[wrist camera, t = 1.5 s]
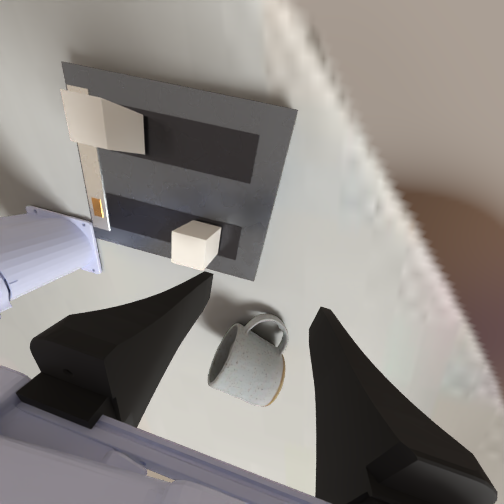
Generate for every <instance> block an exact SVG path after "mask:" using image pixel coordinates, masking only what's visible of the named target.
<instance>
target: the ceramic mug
mask: <svg viewBox="0 0 504 504" xmlns="http://www.w3.org/2000/svg"><path fill="white" fill-rule="evenodd" d="M264 321H274V322H275V323H276V324H277V325H278V326H279V328H280V329H281V330H282V331H283V337H282V340H281V342H280V344H279V346H278V347H275V346H274V345H273V344H271V343H269V342H268V341H266V340H264V339H263V338H261V337H259V336H258V335H257V334H255V333H254V332H252V331H251V330H250V329H252V328H253V327H254V326H255V325H257V324H258V323H261V322H264ZM288 339H289V337H288V331H287V329H286V327H285V325H284V323H283V322H282V321H281V320H280V319H279V318H278V317H276V316H275V315H272V314H268V313H266V314H260V315H257V316H256V317H254V318H253V319H252V320H250V321H249V322H248V323H247V324H246V326H243V325H241V324H239V323H236V324H234V325H233V326H232V327H231V328H230V329H229V330H228V332H227V333H226V334H225V336H224V338H223V339H222V341H221V343H220V345H219V347H218V349H217V351H216V353H215V356H214V358H213V361H212V364H211V367H210V370H209V374H208V385H209V386H210V387H212V388H214V389H217V390H220V391H222V392H225V393H227V394H229V395H231V396H234V397H236V398H239V399H241V400H243V401H245V402H247V403H250V404H252V405H255V406H261V407H264V406H268V405H270V404H271V403H272V402H273V401H274V400H275V399H276V398H277V396H278V394H279V392H280V390H281V388H282V385H283V382H284V377H285V361H284V357H283V355H282V353H283V352H284V351H285V349H286V347H287V344H288Z"/></svg>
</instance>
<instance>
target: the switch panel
mask: <svg viewBox="0 0 504 504" xmlns="http://www.w3.org/2000/svg"><path fill="white" fill-rule="evenodd" d="M61 62H62V61H61ZM62 67H63V72H64V78H65V83H66V88H67V90H68V91H72V92H77V93H81V94H86V95H91V96H95V97H100V98H103V99H105V100H108V101H110V102H113V103H115V104H118V105H120V106H123V107H125V108H128V109H130V110H133V111H135V112H137V113H140V114H142V115H143V123H144V144H145V154H138V153H130V152H122V151H114V150H107V149H103V148H99V147H94V146H90V145H86V144H82V143H78V142H77V146H78V151H79V156H80V162H81V167H82V172H83V178H84V183H85V188H86V193H87V199H88V204H89V209H90V214H91V220H92V225H93V230H94V235H95V238H98V239H102V240H105V241H109V242H113V243H116V244H120V245H124V246H127V247H131V248H134V249H138V250H142V251H145V252H149V253H153V254H156V255H160V256H163V257H167V258H171V253H172V231H173V230H175V229H177V228H179V227H181V226H183V225H185V224H187V223H188V222H190V221H192V220H195V221H199V222H203V223H206V224H210V225H214V226H218V227H221V234H220V241H219V248H218V254H217V255H216V256H215V257H214V259H213V260H212V261H211V262H210V263H209V265H208V266H207V267H206V268H207V269H211V270H214V271H218V272H221V273H225V274H229V275H232V276H236V277H240V278H243V279H247V280H250V281H254V279H255V276H256V272H257V269H258V265H259V261H260V257H261V253H262V249H263V245H264V241H265V237H266V234H267V230H268V226H269V222H270V218H271V214H272V210H273V206H274V202H275V198H276V195H277V191H278V187H279V183H280V179H281V175H282V171H283V167H284V163H285V160H286V156H287V152H288V148H289V144H290V140H291V136H292V132H293V128H294V125H295V121H296V117H297V111H298V110H296V109H291V108H286V107H281V106H276V105H271V104H267V103H262V102H257V101H252V100H247V99H242V98H237V97H232V96H228V95H223V94H218V93H213V92H208V91H203V90H198V89H193V88H189V87H184V86H179V85H174V84H169V83H164V82H159V81H154V80H150V79H145V78H140V77H135V76H130V75H125V74H120V73H115V72H111V71H106V70H101V69H96V68H91V67H86V66H81V65H76V64H72V63H67V62H62Z"/></svg>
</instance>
